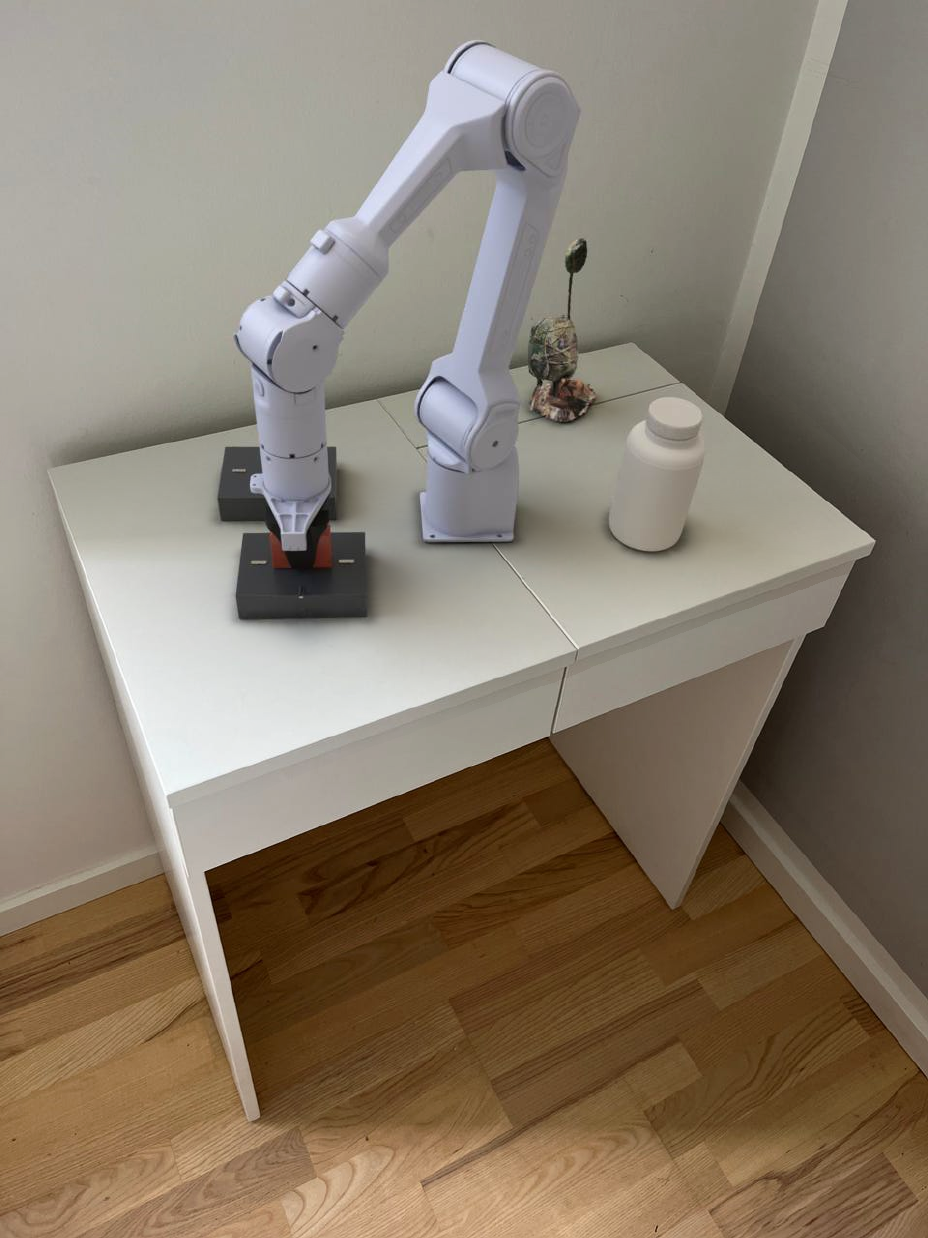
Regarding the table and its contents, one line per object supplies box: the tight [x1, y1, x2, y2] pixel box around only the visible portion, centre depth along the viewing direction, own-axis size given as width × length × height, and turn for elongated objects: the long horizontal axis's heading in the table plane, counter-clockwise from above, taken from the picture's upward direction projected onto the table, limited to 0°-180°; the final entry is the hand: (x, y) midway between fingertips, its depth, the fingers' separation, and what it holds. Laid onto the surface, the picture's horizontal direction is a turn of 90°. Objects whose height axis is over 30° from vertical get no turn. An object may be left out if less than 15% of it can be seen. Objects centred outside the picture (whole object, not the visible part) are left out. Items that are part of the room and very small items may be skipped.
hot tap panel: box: [235, 531, 368, 620], centre depth 92 cm, size 12×10×3 cm
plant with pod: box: [527, 237, 597, 423], centre depth 111 cm, size 8×11×20 cm
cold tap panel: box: [217, 446, 338, 521], centre depth 102 cm, size 12×10×3 cm
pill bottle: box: [608, 396, 707, 552], centre depth 97 cm, size 8×8×15 cm
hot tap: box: [269, 524, 332, 568], centre depth 89 cm, size 6×2×4 cm, turn 95°
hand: (302, 557), depth 90 cm, fingers closed on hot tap, 2 cm apart
